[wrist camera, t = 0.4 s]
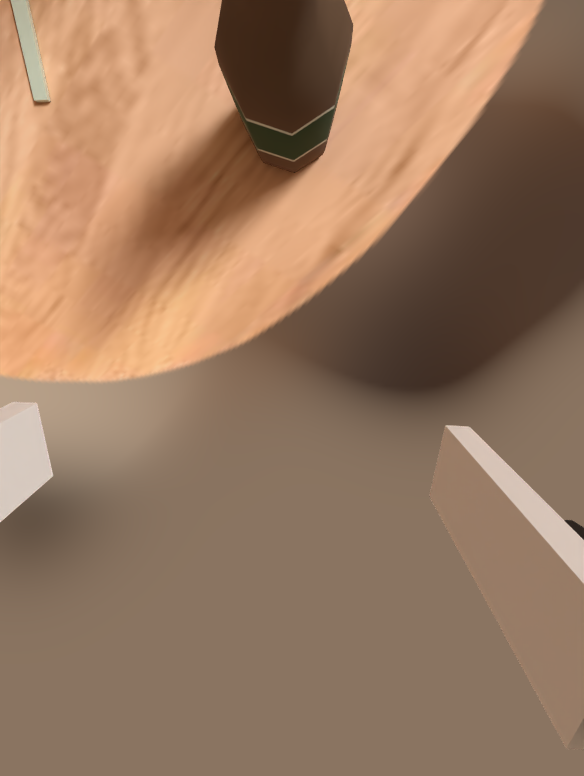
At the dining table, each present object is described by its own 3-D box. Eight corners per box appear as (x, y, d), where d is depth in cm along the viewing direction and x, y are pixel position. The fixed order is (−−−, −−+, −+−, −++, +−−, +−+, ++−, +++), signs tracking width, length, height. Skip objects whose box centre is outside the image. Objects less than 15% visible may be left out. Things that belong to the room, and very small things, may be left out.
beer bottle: (296, 194, 33) (287, 43, 10) (228, 133, 31) (36, -210, 8) (352, 115, 30) (503, -308, 8) (282, 45, 29) (216, -734, 6)
